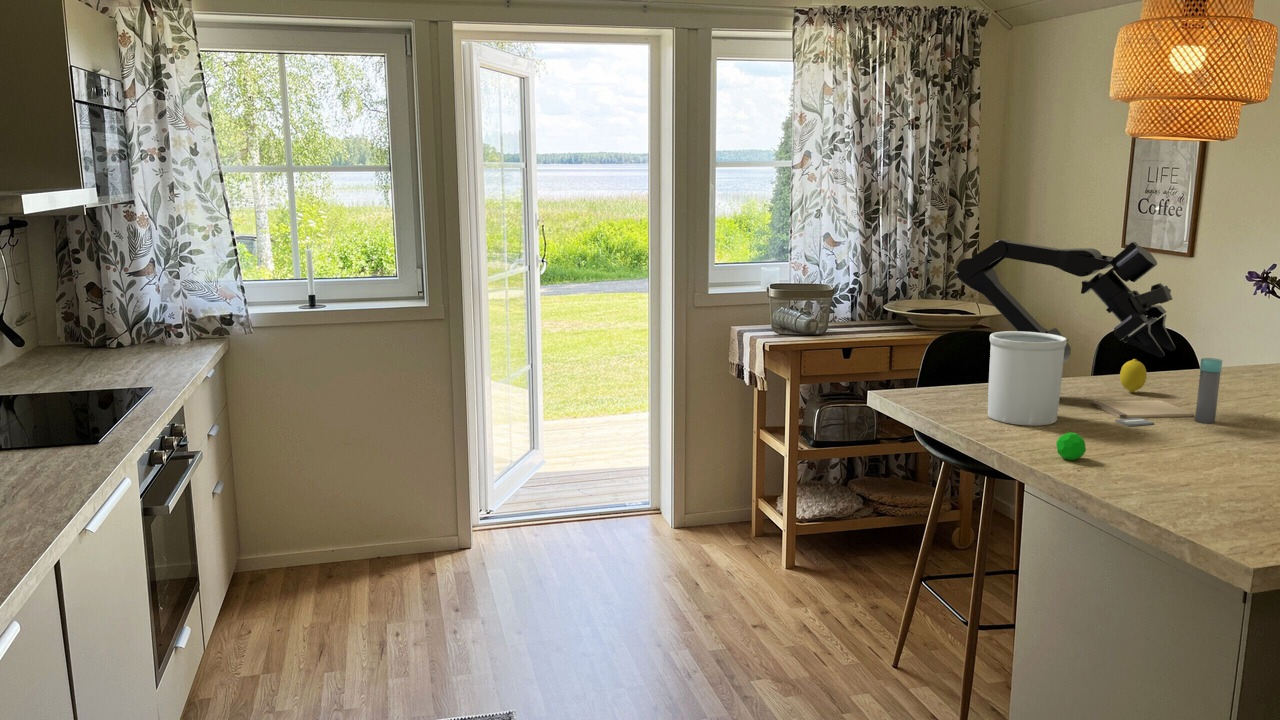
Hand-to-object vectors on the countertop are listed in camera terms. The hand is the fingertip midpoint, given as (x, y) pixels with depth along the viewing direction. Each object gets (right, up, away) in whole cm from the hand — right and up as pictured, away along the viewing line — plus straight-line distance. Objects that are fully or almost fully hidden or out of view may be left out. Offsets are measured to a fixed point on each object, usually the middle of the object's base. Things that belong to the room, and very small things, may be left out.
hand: (1168, 353), depth 204 cm
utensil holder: (-30, -14, +2) cm, 33 cm away
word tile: (-9, -14, -3) cm, 17 cm away
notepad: (-2, -12, +7) cm, 14 cm away
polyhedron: (-32, -20, -27) cm, 47 cm away
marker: (+6, -14, -2) cm, 16 cm away
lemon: (+4, -9, +23) cm, 25 cm away
